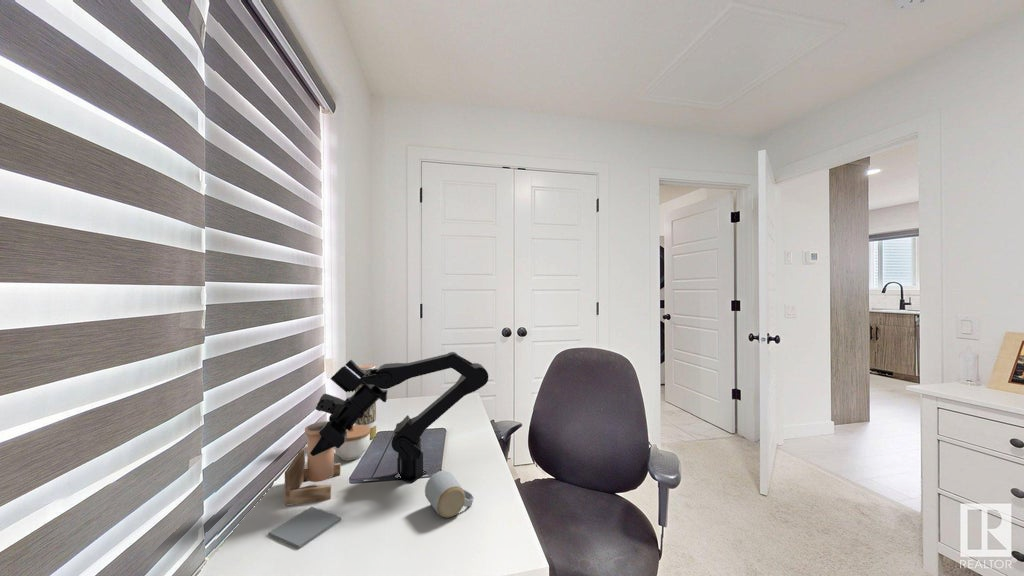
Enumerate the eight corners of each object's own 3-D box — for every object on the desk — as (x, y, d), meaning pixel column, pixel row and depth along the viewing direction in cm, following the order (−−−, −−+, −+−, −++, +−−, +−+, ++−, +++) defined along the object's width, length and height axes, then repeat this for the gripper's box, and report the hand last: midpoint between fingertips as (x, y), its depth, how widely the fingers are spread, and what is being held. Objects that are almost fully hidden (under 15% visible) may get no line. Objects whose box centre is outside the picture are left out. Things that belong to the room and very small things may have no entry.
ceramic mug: (437, 525, 80) (438, 490, 80) (424, 506, 87) (424, 474, 87) (480, 509, 86) (480, 476, 86) (464, 493, 93) (464, 462, 93)
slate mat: (341, 520, 82) (341, 517, 82) (299, 548, 73) (299, 545, 73) (311, 509, 86) (311, 506, 86) (268, 535, 77) (268, 532, 77)
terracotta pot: (342, 472, 98) (341, 423, 98) (318, 485, 91) (317, 432, 91) (323, 466, 101) (323, 419, 101) (299, 479, 94) (298, 428, 94)
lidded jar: (361, 464, 109) (361, 432, 109) (326, 464, 109) (325, 432, 109) (375, 448, 119) (375, 419, 119) (343, 448, 120) (343, 419, 120)
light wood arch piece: (340, 473, 103) (340, 445, 103) (330, 498, 91) (330, 466, 91) (301, 478, 101) (300, 449, 101) (285, 505, 88) (284, 472, 88)
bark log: (371, 441, 125) (370, 368, 125) (351, 441, 125) (351, 368, 125) (379, 433, 131) (378, 364, 131) (360, 433, 131) (359, 364, 131)
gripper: (343, 375, 106) (301, 417, 103) (328, 393, 88) (277, 444, 85) (372, 400, 108) (331, 442, 105) (363, 422, 90) (314, 473, 87)
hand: (315, 449), depth 96 cm, fingers closed on terracotta pot, 6 cm apart
